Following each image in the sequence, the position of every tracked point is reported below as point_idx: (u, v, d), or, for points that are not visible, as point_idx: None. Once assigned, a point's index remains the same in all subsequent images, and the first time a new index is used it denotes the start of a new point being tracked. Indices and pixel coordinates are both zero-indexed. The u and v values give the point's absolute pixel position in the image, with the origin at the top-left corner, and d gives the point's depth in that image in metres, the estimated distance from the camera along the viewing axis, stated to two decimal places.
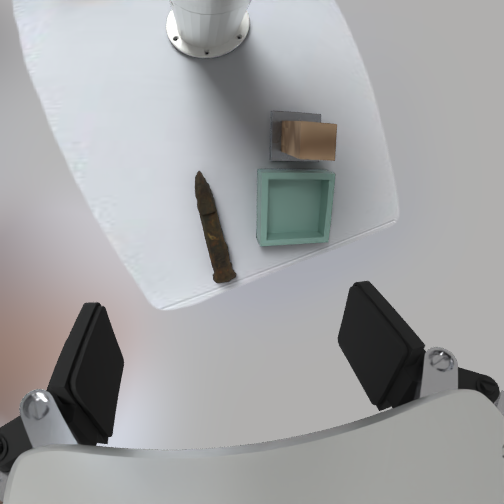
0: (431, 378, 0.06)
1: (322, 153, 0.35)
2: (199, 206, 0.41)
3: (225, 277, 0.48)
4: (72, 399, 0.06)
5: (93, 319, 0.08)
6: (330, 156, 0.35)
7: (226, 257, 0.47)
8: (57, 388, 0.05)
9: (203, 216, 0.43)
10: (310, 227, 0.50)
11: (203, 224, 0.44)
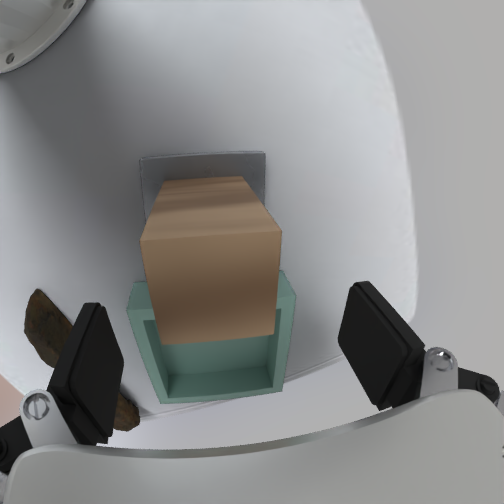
0: (431, 378, 0.06)
1: (230, 325, 0.12)
2: (42, 358, 0.18)
3: (123, 426, 0.25)
4: (72, 399, 0.06)
5: (93, 319, 0.08)
6: (259, 327, 0.12)
7: None
8: (57, 388, 0.05)
9: None
10: (252, 363, 0.27)
11: None
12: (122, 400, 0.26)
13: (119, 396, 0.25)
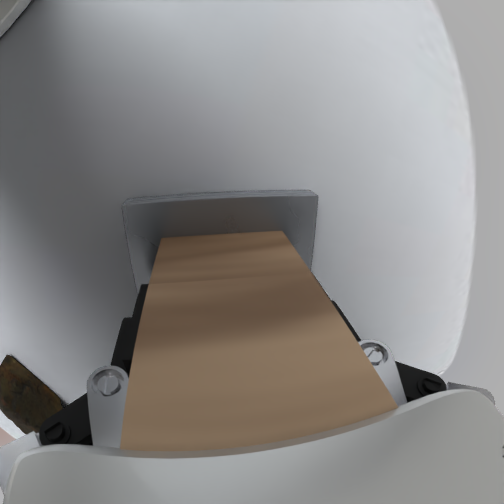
0: None
1: None
2: (24, 432, 0.12)
3: None
4: None
5: None
6: None
7: None
8: (131, 362, 0.06)
9: None
10: None
11: None
12: None
13: None
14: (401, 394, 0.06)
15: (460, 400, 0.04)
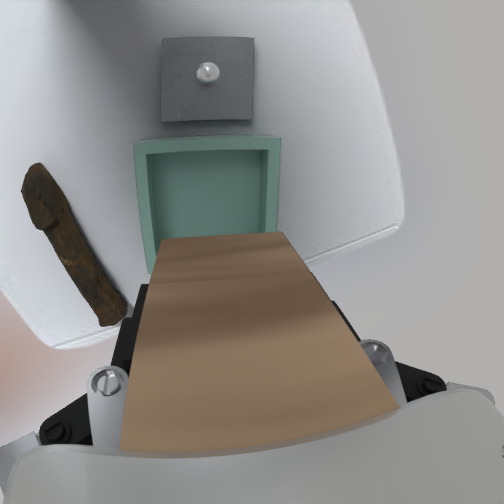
0: None
1: None
2: (32, 218, 0.20)
3: (108, 318, 0.27)
4: None
5: None
6: None
7: (99, 289, 0.26)
8: (131, 362, 0.06)
9: (45, 232, 0.22)
10: None
11: None
12: (108, 285, 0.27)
13: (105, 279, 0.27)
14: (401, 394, 0.06)
15: (460, 400, 0.04)
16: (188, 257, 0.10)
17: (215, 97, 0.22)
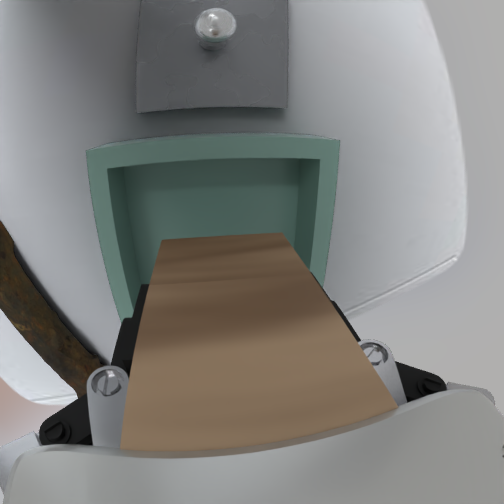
0: None
1: None
2: None
3: (86, 392, 0.18)
4: None
5: None
6: None
7: (66, 360, 0.16)
8: (131, 362, 0.06)
9: None
10: None
11: None
12: (80, 350, 0.18)
13: (75, 344, 0.18)
14: (401, 394, 0.06)
15: (460, 400, 0.04)
16: (188, 258, 0.10)
17: (227, 70, 0.12)
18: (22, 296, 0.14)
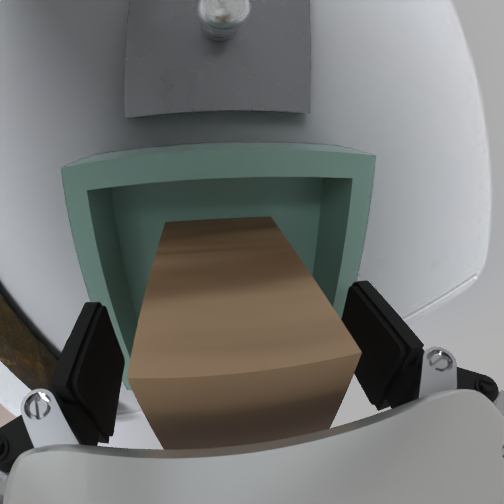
0: (430, 378, 0.06)
1: None
2: None
3: None
4: (73, 398, 0.06)
5: (94, 318, 0.08)
6: None
7: None
8: (58, 387, 0.05)
9: None
10: None
11: None
12: None
13: None
14: None
15: (460, 400, 0.04)
16: (188, 235, 0.11)
17: (236, 65, 0.10)
18: (4, 329, 0.12)
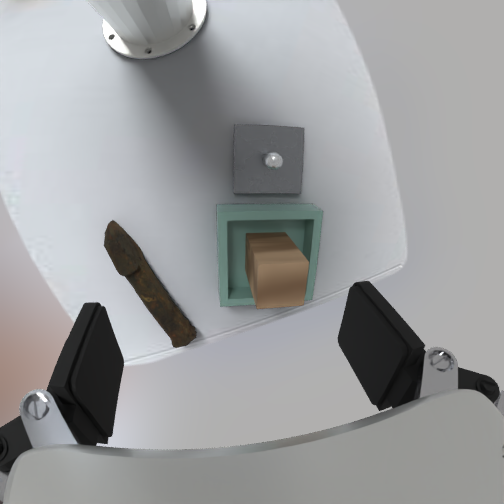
0: (431, 378, 0.06)
1: (286, 299, 0.29)
2: (116, 267, 0.30)
3: (182, 340, 0.36)
4: (72, 399, 0.06)
5: (93, 319, 0.08)
6: (298, 301, 0.29)
7: (174, 318, 0.35)
8: (57, 388, 0.05)
9: (128, 277, 0.32)
10: None
11: None
12: (180, 314, 0.37)
13: (178, 309, 0.37)
14: None
15: (460, 400, 0.04)
16: (257, 237, 0.33)
17: (275, 176, 0.32)
18: (152, 281, 0.33)
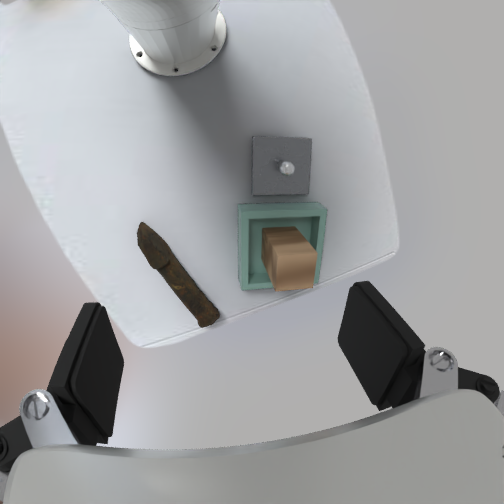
0: (431, 378, 0.06)
1: (299, 283, 0.35)
2: (150, 262, 0.37)
3: (207, 320, 0.43)
4: (72, 399, 0.06)
5: (93, 319, 0.08)
6: (308, 284, 0.36)
7: (201, 301, 0.42)
8: (57, 388, 0.05)
9: (159, 270, 0.38)
10: None
11: (163, 277, 0.39)
12: (205, 297, 0.44)
13: (203, 294, 0.43)
14: None
15: (460, 400, 0.04)
16: (273, 232, 0.40)
17: (287, 180, 0.38)
18: (180, 271, 0.40)
